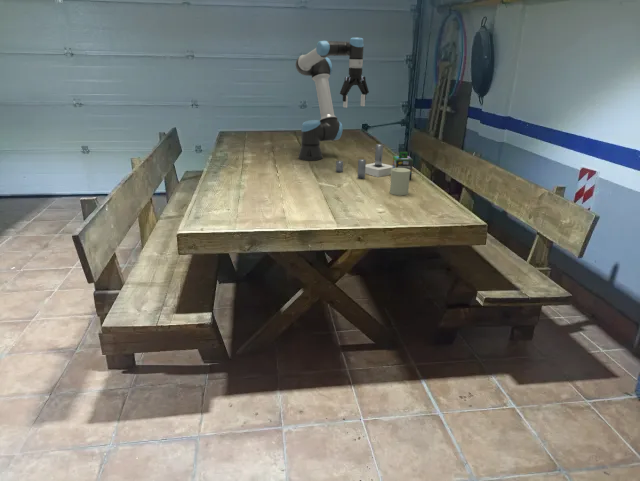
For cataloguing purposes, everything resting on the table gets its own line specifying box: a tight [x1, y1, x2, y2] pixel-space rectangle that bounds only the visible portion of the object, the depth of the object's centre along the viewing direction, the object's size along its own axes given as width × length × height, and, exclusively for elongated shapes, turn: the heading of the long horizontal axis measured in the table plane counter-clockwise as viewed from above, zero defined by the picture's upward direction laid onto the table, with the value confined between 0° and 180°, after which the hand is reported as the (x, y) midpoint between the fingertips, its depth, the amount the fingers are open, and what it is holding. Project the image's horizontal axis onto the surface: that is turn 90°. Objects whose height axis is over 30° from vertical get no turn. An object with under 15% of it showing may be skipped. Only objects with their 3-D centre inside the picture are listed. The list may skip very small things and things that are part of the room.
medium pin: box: [357, 158, 367, 180], centre depth 263 cm, size 4×4×10 cm
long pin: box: [374, 143, 384, 168], centre depth 273 cm, size 4×4×16 cm
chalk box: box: [392, 151, 414, 181], centre depth 263 cm, size 9×9×15 cm
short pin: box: [335, 160, 344, 174], centre depth 276 cm, size 4×4×6 cm
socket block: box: [365, 162, 393, 178], centre depth 276 cm, size 14×14×4 cm
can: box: [389, 168, 410, 196], centre depth 237 cm, size 9×9×12 cm
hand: (354, 106), depth 278 cm, fingers open, 13 cm apart
